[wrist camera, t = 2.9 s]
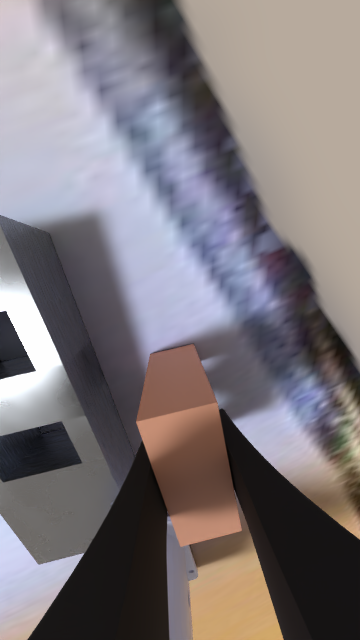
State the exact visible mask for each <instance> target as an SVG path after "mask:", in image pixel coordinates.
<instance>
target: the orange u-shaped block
mask: <svg viewBox="0 0 360 640" xmlns="http://www.w3.org/2000/svg"><path fill="white" fill-rule="evenodd" d="M136 423H137V426H138V429H139V432H140V434H141V437H142V440H143V443H144V446H145V449H146V451H147V454H148V457H149V460H150V463H151V465H152V468H153V471H154V474H155V477H156V480H157V482H158V485H159V488H160V491H161V494H162V496H163V499H164V502H165V505H166V508H167V510H168V513H169V516H170V519H171V522H172V525H173V527H174V530H175V533H176V536H177V539H178V541H179V544H180V547H182V546H186V545H190V544H194V543H197V542H201V541H205V540H209V539H213V538H217V537H221V536H224V535H228V534H232V533H236V532H240V531H242V529H241V524H240V519H239V513H238V508H237V503H236V498H235V492H234V487H233V482H232V477H231V471H230V466H229V461H228V456H227V450H226V445H225V440H224V435H223V429H222V424H221V419H220V414H219V408H218V403H217V400H216V398H215V395H214V393H213V390H212V388H211V385H210V383H209V380H208V378H207V376H206V373H205V371H204V368H203V366H202V363H201V361H200V358H199V356H198V353H197V351H196V348H195V346H194V344H191V345H187V346H183V347H178V348H174V349H170V350H165V351H161V352H157V353H153V354H150V357H149V362H148V367H147V372H146V377H145V381H144V386H143V391H142V396H141V401H140V405H139V410H138V415H137V420H136Z"/></svg>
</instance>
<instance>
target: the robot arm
mask: <svg viewBox="0 0 360 640" xmlns="http://www.w3.org/2000/svg"><path fill="white" fill-rule="evenodd" d="M219 414H220V419H221V424H222V429H223V435H224V440H225V445H226V450H227V456H228V461H229V466H230V471H231V477H232V482H233V487H234V490H235V492H236V495H237V498H238V500H239V503H240V505H241V508H242V511H243V513H244V516H245V519H246V521H247V524H248V527H249V530H250V533H251V536H252V539H253V542H254V546H255V549H256V552H257V555H258V558H259V561H260V565H261V568H262V571H263V574H264V577H265V581H266V584H267V587H268V590H269V593H270V597H271V600H272V603H273V606H274V609H275V613H276V616H277V619H278V622H279V626H280V629H281V632H282V635H283V639H284V640H360V540H359V539H358V538H357V537H356V536H354V535H353V534H352V533H350V532H349V531H348V530H346V529H345V528H344V527H343V526H341V525H340V524H339V523H338V522H336V521H335V520H334V519H333V518H331V517H330V516H329V515H328V514H327V513H325V512H324V511H323V510H322V509H320V508H319V507H318V506H317V505H316V504H314V503H313V502H312V501H311V500H309V499H308V498H307V497H306V496H305V495H304V494H302V493H301V492H300V491H299V490H298V489H297V488H296V487H295V486H293V485H292V484H291V483H290V482H289V481H288V480H287V479H286V478H285V477H284V476H282V475H281V474H280V473H279V472H278V471H277V470H276V469H275V468H274V467H273V466H272V465H271V464H270V463H269V462H268V461H267V460H266V459H265V458H264V457H263V456H262V455H261V454H260V453H259V452H258V451H257V450H256V449H255V448H254V446H253V445H252V444H251V443H250V442H249V441H248V440H247V439H246V437H245V436H244V435H243V434H242V433H241V432H240V431H239V429H238V428H237V427H236V426H235V424H234V423H233V422H232V420H231V419H230V418H229V416H228V415H227V413H226V412H225V410H223V409H219ZM167 513H168V510H167V508H166V505H165V502H164V499H163V496H162V494H161V491H160V488H159V485H158V482H157V480H156V477H155V474H154V471H153V468H152V465H151V463H150V460H149V457H148V454H147V451H146V449H145V446H144V443H143V440H142V442H141V445H140V447H139V450H138V452H137V454H136V457H135V459H134V461H133V463H132V466H131V468H130V470H129V472H128V474H127V477H126V479H125V481H124V483H123V485H122V487H121V489H120V491H119V493H118V495H117V497H116V499H115V501H114V503H113V504H112V506H111V508H110V510H109V512H108V514H107V516H106V517H105V519H104V521H103V523H102V524H101V526H100V528H99V530H98V531H97V533H96V535H95V537H94V538H93V540H92V542H91V543H90V545H89V547H88V548H87V550H86V552H85V553H84V555H83V557H82V558H81V560H80V561H79V563H78V565H77V566H76V568H75V569H74V571H73V573H72V574H71V576H70V577H69V579H68V580H67V582H66V583H65V585H64V586H63V588H62V589H61V591H60V592H59V594H58V595H57V597H56V598H55V600H54V601H53V603H52V604H51V606H50V607H49V609H48V610H47V612H46V613H45V615H44V616H43V618H42V619H41V621H40V622H39V624H38V625H37V627H36V628H35V630H34V631H33V633H32V634H31V635H30V637H29V638H28V640H193V630H192V617H191V603H190V590H189V581H190V580H194V579H196V578H197V577H198V570H197V567H196V564H195V561H194V558H193V555H192V552H191V549H190V546H189V545H186V546H182V547H180V544H179V541H178V539H177V536H176V533H175V530H174V527H173V525H172V522H171V519H170V516H168V517H167Z"/></svg>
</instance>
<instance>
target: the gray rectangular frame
mask: <svg viewBox="0 0 360 640" xmlns="http://www.w3.org/2000/svg"><path fill="white" fill-rule="evenodd" d="M4 311H7V313H8V315H9V317H10V319H11V321H12V323H13V325H14V327H15V329H16V331H17V333H18V335H19V337H20V339H21V341H22V343H23V345H24V347H25V349H26V351H27V353H28V355H29V356H26V357H21V358H17V359H13V360H8V361H4V362H1V360H0V514H1V516H2V517H3V518H4V520H5V521H6V522H7V524H8V525H9V526H10V527H11V529H12V530H13V531H14V533H15V534H16V535H17V537H18V538H19V539H20V541H21V542H22V543H23V545H24V546H25V547H26V549H27V550H28V551H29V553H30V554H31V555H32V557H33V558H34V559H35V560H36V562H37V563H38V564H43V563H47V562H51V561H55V560H58V559H62V558H66V557H70V556H74V555H78V554H82V553H85V552H86V550H87V548H88V547H89V545H90V543H91V542H92V540H93V538H94V537H95V535H96V533H97V531H98V530H99V528H100V526H101V524H102V523H103V521H104V519H105V517H106V516H107V514H108V512H109V510H110V508H111V506H112V504H113V503H114V501H115V499H116V497H117V495H118V493H119V491H120V489H121V487H122V485H123V483H124V481H125V479H126V477H127V474H128V472H129V470H130V468H131V466H132V463H133V461H134V459H135V456H134V454H133V451H132V449H131V446H130V443H129V441H128V438H127V436H126V433H125V430H124V428H123V425H122V423H121V420H120V417H119V415H118V412H117V410H116V407H115V404H114V402H113V399H112V397H111V394H110V391H109V389H108V386H107V384H106V381H105V378H104V376H103V373H102V371H101V368H100V365H99V363H98V360H97V358H96V355H95V352H94V350H93V347H92V345H91V342H90V339H89V337H88V334H87V332H86V329H85V326H84V324H83V321H82V319H81V316H80V313H79V311H78V308H77V306H76V303H75V300H74V298H73V295H72V293H71V290H70V287H69V285H68V282H67V280H66V277H65V274H64V272H63V269H62V267H61V264H60V261H59V259H58V256H57V254H56V251H55V248H54V246H53V243H52V241H51V238H50V235H49V233H47V232H45V231H42V230H39V229H36V228H34V227H31V226H28V225H26V224H23V223H20V222H17V221H15V220H12V219H9V218H7V217H4V216H1V215H0V312H4ZM61 421H62V423H63V425H64V427H65V429H61V430H57V431H53V432H49V433H45V434H41V433H40V431H39V429H38V427H40V426H44V425H48V424H52V423H56V422H61Z"/></svg>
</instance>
